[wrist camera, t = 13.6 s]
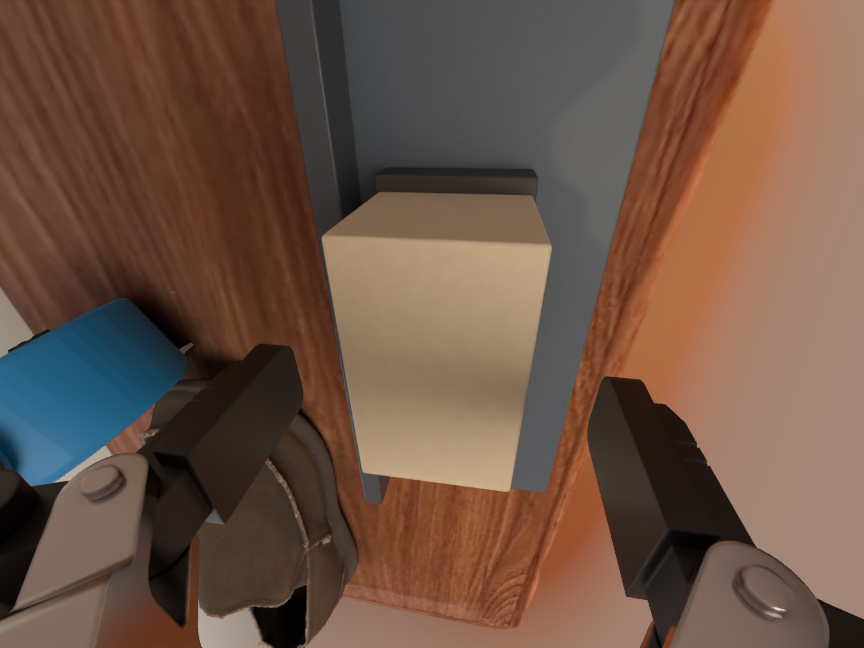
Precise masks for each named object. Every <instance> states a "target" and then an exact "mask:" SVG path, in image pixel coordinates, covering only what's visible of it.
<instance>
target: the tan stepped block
mask: <svg viewBox="0 0 864 648" xmlns="http://www.w3.org/2000/svg"><path fill="white" fill-rule="evenodd" d="M538 180H539V179H538V176H537V174H536V173H535V171H534V170H533V169H481V168H406V167H387V168H385V169H384V170H382V171H380V172H379V173H377V174H375V187H376V195H375V196H373V197H372V198H371V199H369V200H368V201H367V202H365V203H364V204H363V205H362V206H360V207H359V208H358V209H356V210H355V211H354V212H352V213H351V214H350V215H348V216H347V217H346V218H345V219H343V220H342V221H341V222H339V223H338V224H337V225H335V226H334V227H333V228H331V229H330V230H329V231H328V232H326V233H325V234H324V235H322V244H323V250H324V256H325V261H326V267H327V273H328V278H329V284H330V290H331V296H332V301H333V307H334V313H335V318H336V324H337V330H338V335H339V341H340V347H341V352H342V358H343V364H344V369H345V375H346V381H347V386H348V392H349V398H350V404H351V409H352V415H353V421H354V426H355V432H356V438H357V443H358V449H359V455H360V460H361V466H362V471H363V472H364V473H369V474H377V475H384V476H392V477H399V478H407V479H414V480H422V481H429V482H437V483H445V484H452V485H460V486H467V487H475V488H482V489H490V490H497V491H505V492H508V491H510V488H511V482H512V476H513V470H514V464H515V459H516V453H517V447H518V441H519V436H520V430H521V424H522V418H523V412H524V407H525V401H526V395H527V389H528V384H529V378H530V372H531V366H532V360H533V355H534V349H535V343H536V337H537V331H538V326H539V320H540V314H541V308H542V303H543V297H544V291H545V285H546V279H547V274H548V268H549V262H550V256H551V251H552V247H551V243H550V241H549V238H548V236H547V233H546V230H545V228H544V225H543V222H542V220H541V217H540V215H539V212H538V209H537V207H536V204H535V202H536V195H537V187H538Z"/></svg>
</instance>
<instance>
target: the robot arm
mask: <svg viewBox="0 0 864 648" xmlns="http://www.w3.org/2000/svg"><path fill="white" fill-rule="evenodd" d="M204 387H205V388H204V390H203V389H201V390H200V391H199V392H198V393H197V394H196V395H195V396H194V397H193V398H192V401H191V402H188V403H187V404H186V405H185V406H184V407H183V408H182V409H181V410H180V411H179V412H178V413H177V414H176V415H175V416H173V417H172V418H171V419H170V420H169V421H168V422H167V423H166V424H165V425H164V426H163V427H162V428H161V429H160V430H159V431H158V432H157V433H156V434H155V435H154V436H153V437H152V438H151V439H150V440H149V441H148V442H147V443H146V444H145V445H144V446H143V447H142V448H141V449H139V450H138V451H137V452H136V453H121V454H117V455H113V456H110V457H107V458H105V459H102V460H100V461H98V462H96V463H94V464H92V465H90V466H89V467H87V468H86V469H84V470H82V471H81V472H80V473H78V474H77V475H76V476H75V477H73V478H72V479H71V480H70V481H64V482H57V483H51V484H44V485H37V486H30V485H29V484H28V483H27V482H26V481H25V480H24V478H23V477H22V476H21V475H20V474H19V473H18V472H16V471H14V470H9V469H2V470H0V648H202V647H201V644H200V640H199V635H198V584H199V538H198V535H197V532H198V531H199V529H200V528H201V526H202V525H203V523H204V522H205V521H206V522H211V523H217V524H223V525H226V523H227V521H228V520H229V518H230V517H231V515H232V514H233V512H234V511H235V509H236V508H237V506H238V504H239V503H240V501H241V500H242V498H243V497H244V495H245V494H246V492H247V490H248V489H249V487H250V486H251V484H252V483H253V481H254V480H255V478H256V477H257V475H258V473H259V472H260V470H261V469H262V467H263V466H264V464H265V463H266V461H267V460H268V458H269V456H270V455H271V453H272V452H273V450H274V449H275V447H276V446H277V444H278V443H279V441H280V439H281V438H282V436H283V435H284V433H285V432H286V430H287V429H288V427H289V426H290V424H291V422H292V421H293V419H294V418H295V416H296V415H297V413H298V412H299V410H300V408H301V405H302V401H303V387H302V383H301V380H300V376H299V372H298V368H297V365H296V361H295V357H294V354H293V351H292V349H291V348H290V347H288V346H281V345H270V344H259V345H257V346H256V347H254V348H253V350H252V351H251V352H250V353H249V354H248V355H247V356H246V357H245V358H244V359H243V360H242V361H240V360H239V361H237V362H235V363H234V364H232V365H230V366H229V367H227V368H225V369H224V370H222V371H220V372H219V373H218V374H217V375H216V376H215V377H214V378H213V379H212V380H211V381H210V382H209V383H207V384H206V385H205V386H204ZM587 436H588V446H589V450H590V454H591V458H592V462H593V466H594V470H595V474H596V478H597V482H598V486H599V490H600V493H601V498H602V502H603V506H604V510H605V514H606V518H607V522H608V526H609V530H610V534H611V538H612V542H613V546H614V550H615V554H616V558H617V562H618V565H619V570H620V573H621V578H622V582H623V586H624V590H625V593H626V596H627V597H632V598H638V599H644V600H648V603H649V607H650V610H651V613H652V617H653V621H652V622H651V624H650V626H649V628H648V630H647V633H646V635H645V637H644V640H643V642H642V644H641V646H640V648H864V619H862V618H860V617H857V616H855V615H852V614H850V613H848V612H845V611H843V610H841V609H839V608H836V607H834V606H832V605H830V604H827V603H825V602H823V601H821V600H819V599H817V598H816V597H815V596H814V594H813V593H812V592H811V590H810V589H809V588H808V587H807V586H806V585H805V583H804V582H803V581H802V580H801V579H800V578H799V577H798V576H797V575H796V574H795V573H794V572H793V571H792V570H790V569H789V568H788V567H787V566H785V565H784V564H783V563H782V562H780V561H779V560H777V559H776V558H774V557H773V556H771V555H770V554H768V553H766V552H764V551H762V550H761V549H758V548H757V547H756V546H755V544H754V543H753V541H752V539H751V538H750V536H749V534H748V532H747V531H746V529H745V527H744V525H743V524H742V522H741V520H740V518H739V517H738V515H737V513H736V511H735V510H734V508H733V506H732V504H731V502H730V501H729V499H728V497H727V495H726V494H725V492H724V490H723V488H722V487H721V485H720V483H719V481H718V480H717V478H716V476H715V474H714V473H713V471H712V469H711V467H710V466H707V460H706V458H705V457H704V455H703V453H702V452H701V450H700V448H697V443H696V441H695V439H694V437H693V436H692V434H691V432H690V430H689V429H688V427H687V425H686V423H685V422H684V421H683V420H682V419H680V418H679V417H678V416H677V415H676V414H675V413H674V412H673V411H672V410H671V409H670V408H669V407H667V405H665V404H657V403H654V402H653V400H652V398H651V396H650V394H649V392H648V390H647V389H646V387H645V385H644V383H643V382H642V381H641V380H639V379H628V378H618V377H607V376H606V377H604V378H603V380H602V382H601V384H600V388H599V391H598V394H597V397H596V400H595V403H594V407H593V410H592V413H591V416H590V419H589V423H588V434H587Z"/></svg>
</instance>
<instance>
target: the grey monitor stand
mask: <svg viewBox="0 0 864 648" xmlns="http://www.w3.org/2000/svg"><path fill="white" fill-rule="evenodd" d="M675 1H676V0H275V2H276V8H277V13H278V19H279V24H280V30H281V36H282V41H283V47H284V52H285V58H286V63H287V69H288V74H289V80H290V86H291V91H292V97H293V102H294V108H295V113H296V119H297V124H298V130H299V136H300V141H301V147H302V152H303V158H304V163H305V169H306V175H307V180H308V186H309V191H310V197H311V202H312V208H313V213H314V219H315V225H316V230H317V236H318V241H319V247H320V252H321V258H322V264H323V269H324V275H325V280H326V286H327V291H328V297H329V302H330V308H331V314H332V319H333V325H334V330H335V336H336V341H337V347H338V352H339V358H340V364H341V369H342V375H343V380H344V386H345V391H346V397H347V403H348V408H349V414H350V419H351V425H352V430H353V436H354V441H355V447H356V453H357V458H358V464H359V469H360V475H361V480H362V486H363V491H364V497H365V501H366V502H370V503H377V504H382V503H383V499H384V496H385V492H386V489H387V485H388V482H389V478H390V476H384V475H377V474H369V473H364V472H363V471H362V466H361V460H360V455H359V449H358V443H357V438H356V432H355V426H354V421H353V415H352V409H351V404H350V398H349V392H348V386H347V381H346V375H345V369H344V364H343V358H342V352H341V347H340V341H339V335H338V330H337V324H336V318H335V313H334V307H333V301H332V296H331V290H330V284H329V278H328V273H327V267H326V261H325V256H324V250H323V244H322V235H324V234H325V233H326V232H328V231H329V230H330V229H331V228H333V227H334V226H335V225H337V224H338V223H339V222H341V221H342V220H343V219H345V218H346V217H347V216H348V215H350V214H351V213H352V212H354V211H355V210H356V209H358V208H359V207H360V206H362V205H363V204H364V203H365V202H367V201H368V200H369V199H371V198H372V197H373V196H375V195H376V187H375V174H377V173H379V172H380V171H382V170H384V169H385V168H387V167H406V168H481V169H533V170H534V171H535V173H536V174H537V176H538V179H539V180H538V187H537V195H536V202H535V204H536V207H537V209H538V212H539V215H540V217H541V220H542V222H543V225H544V228H545V230H546V233H547V236H548V238H549V241H550V243H551V247H552V251H551V256H550V262H549V268H548V274H547V279H546V285H545V291H544V297H543V303H542V308H541V314H540V320H539V326H538V331H537V337H536V343H535V349H534V355H533V360H532V366H531V372H530V378H529V384H528V389H527V395H526V401H525V407H524V412H523V418H522V424H521V430H520V436H519V441H518V447H517V453H516V459H515V464H514V470H513V476H512V482H511V489H518V490H526V491H534V492H541V493H546V490H547V487H548V483H549V479H550V475H551V471H552V468H553V464H554V460H555V456H556V452H557V449H558V445H559V441H560V437H561V434H562V430H563V426H564V422H565V418H566V415H567V411H568V407H569V403H570V399H571V396H572V392H573V388H574V384H575V380H576V377H577V373H578V369H579V365H580V361H581V358H582V354H583V350H584V346H585V342H586V339H587V335H588V331H589V327H590V324H591V320H592V316H593V312H594V308H595V305H596V301H597V297H598V293H599V289H600V286H601V282H602V278H603V274H604V270H605V267H606V263H607V259H608V255H609V251H610V248H611V244H612V240H613V236H614V232H615V229H616V225H617V221H618V217H619V213H620V210H621V206H622V202H623V198H624V195H625V191H626V187H627V183H628V179H629V176H630V172H631V168H632V164H633V160H634V157H635V153H636V149H637V145H638V141H639V138H640V134H641V130H642V126H643V122H644V119H645V115H646V111H647V107H648V103H649V100H650V96H651V92H652V88H653V85H654V81H655V77H656V73H657V69H658V66H659V62H660V58H661V54H662V50H663V47H664V43H665V39H666V35H667V31H668V28H669V24H670V20H671V16H672V12H673V9H674V5H675Z"/></svg>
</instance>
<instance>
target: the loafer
mask: <svg viewBox="0 0 864 648" xmlns="http://www.w3.org/2000/svg"><path fill="white" fill-rule="evenodd" d="M210 381H211V380H197V379H187V380H179V381H178V382H177V383H176V384H175V385H174V386H173V387H172V388H171V389H170V390H169V391H168V392H167V393H166V394H165V395H164V396H163V397H162V398H161V399H160V400H159V401H158V402H156V404H155V407H154V410H153V415H152V421H151V425H150V427H149V429H148V430H147V431H144V432H143V433H140V434H139V437H140V439H141V440H142V442H143V444H142V446H144V445H145V444H146V443H147V442H148V441H149V440H150V439H151V438H152V437H153V436H154V435H155V434H156V433H157V432H158V431H159V430H160V429H161V428H162V427H163V426H164V425H165V424H166V423H167V422H168V421H169V420H170V419H171V418H172V417H173V416H175V415H176V414H177V413H178V412H179V411H180V410H181V409H182V408H183V407H184V406H185V405H186V404H187V403H188V402H191V401H192V398H193V397H194V396H195V395H196V394H197V393H198V392H199V391H200V390H201V389H203V390H204V388H205V387H204V386H205V385H206V384H207V383H209V382H210ZM197 535H198V538H199V584H198V600H199V604H200V608H201V609H202V610H203V611H204V613H206V614H207V616H211V617H218V618H221V619H222V618H224V617H225V616H227V615H230V614H233V613H235V612H238V611H243V610H244V609H245V608H248V610H249V611H250V613H251V615H252V618H253V620H254V623H255V626H256V629H257V630H258V632H259V635H260V638H261V643H259V644H258V645H267V646H268V647H269V648H305V646H306V645H308V644H309V642H310V641H311V640H312V639H313V638H314V637H315V636H316V634H317V633H318V632H319V631H320V630H321V629H322V627H323V626H324V625H325V624H326V622H327V620H328V619H329V617H330V616H331V614H332V612H333V610H334V608H335V607H336V605H337V604H338V602H339V600H340V599H341V597H342V594H343V592H344V589H345V585H347V584H348V582H349V581H350V579H351V577H352V576H353V574H354V572H355V571H356V568H357V566H358V562H359V558H358V553H357V549H356V546H355V543H354V540H353V538H352V535H351V533H350V531H349V528H348V526H347V524H346V522H345V520H344V518H343V516H342V514H341V511H340V509H339V505H338V500H337V493H336V481H335V474H334V469H333V465H332V462H331V458H330V455H329V452H328V450H327V448H326V446H325V443H324V441H323V439H322V438H321V437H320V436H319V434H318V432H317V431H316V429H315V428H314V427H313V426H312V425H311V424H310V423H309V422H308V421H307V420H306V419H305V418H304V417H303V416H302V415H301V414H298V413H297V415H296V416H295V418H294V419H293V421H292V422H291V424H290V426H289V427H288V429H287V430H286V432H285V433H284V435H283V436H282V438H281V439H280V441H279V443H278V444H277V446H276V447H275V449H274V450H273V452H272V453H271V455H270V456H269V458H268V460H267V461H266V463H265V464H264V466H263V467H262V469H261V470H260V472H259V473H258V475H257V477H256V478H255V480H254V481H253V483H252V484H251V486H250V487H249V489H248V490H247V492H246V494H245V495H244V497H243V498H242V500H241V501H240V503H239V504H238V506H237V508H236V509H235V511H234V512H233V514H232V515H231V517H230V518H229V520H228V521H227V523H226V525H223V524H217V523H211V522H206V521H205V522H204V523H203V525H202V526H201V528H200V529H199V531H198V532H197Z"/></svg>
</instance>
